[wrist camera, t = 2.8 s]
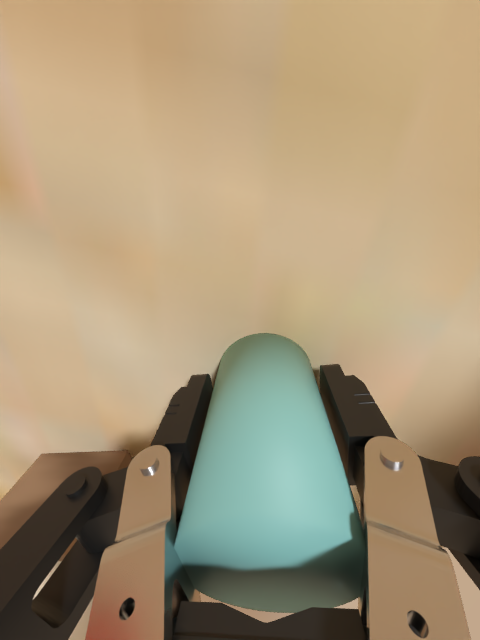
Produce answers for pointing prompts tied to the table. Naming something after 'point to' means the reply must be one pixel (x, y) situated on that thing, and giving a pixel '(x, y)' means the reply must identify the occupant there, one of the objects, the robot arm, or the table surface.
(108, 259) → the table surface
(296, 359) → the teal capsule
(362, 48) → the table surface
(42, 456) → the walnut base block
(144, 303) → the table surface
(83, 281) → the table surface
